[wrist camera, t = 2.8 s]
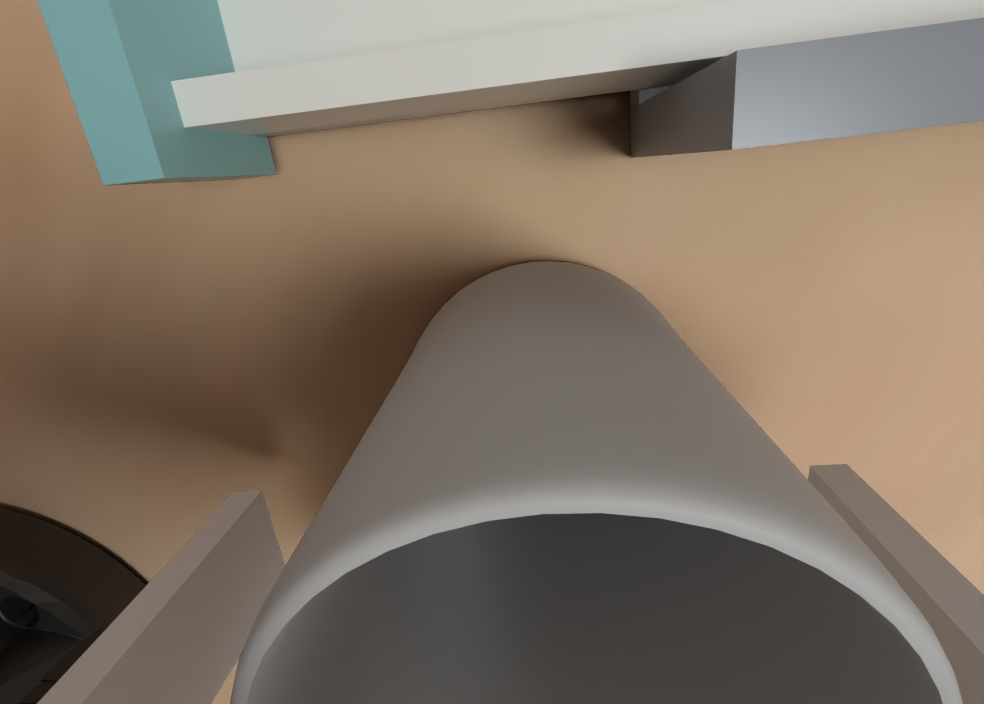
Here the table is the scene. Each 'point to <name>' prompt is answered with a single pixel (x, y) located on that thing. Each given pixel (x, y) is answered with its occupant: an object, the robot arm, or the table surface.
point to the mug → (578, 533)
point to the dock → (818, 91)
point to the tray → (390, 63)
